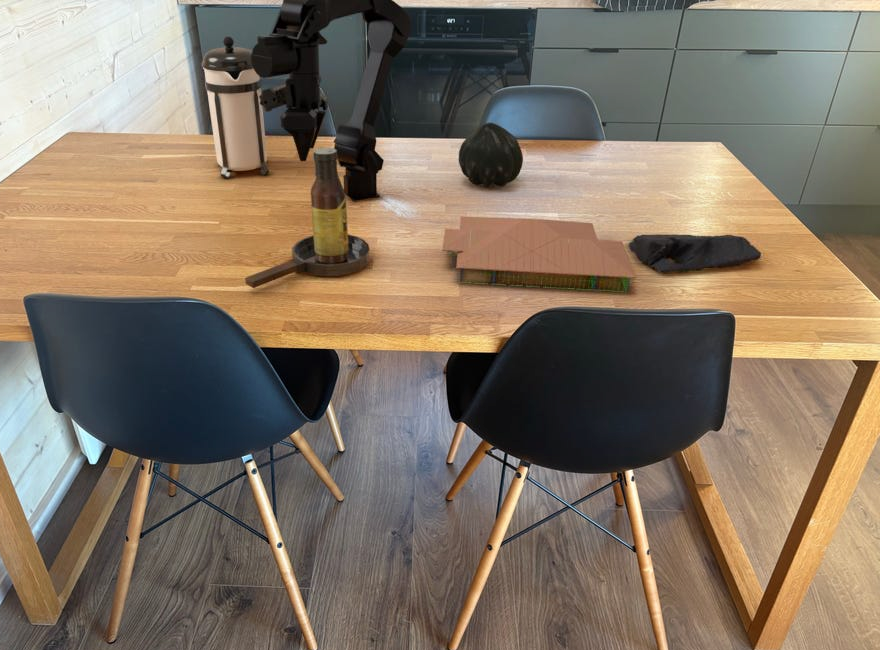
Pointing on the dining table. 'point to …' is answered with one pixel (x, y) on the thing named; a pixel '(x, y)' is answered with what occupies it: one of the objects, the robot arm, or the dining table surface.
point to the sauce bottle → (328, 209)
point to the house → (537, 249)
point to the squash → (490, 156)
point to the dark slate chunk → (692, 251)
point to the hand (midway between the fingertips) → (307, 154)
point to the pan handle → (276, 273)
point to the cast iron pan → (353, 263)
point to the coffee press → (235, 109)
